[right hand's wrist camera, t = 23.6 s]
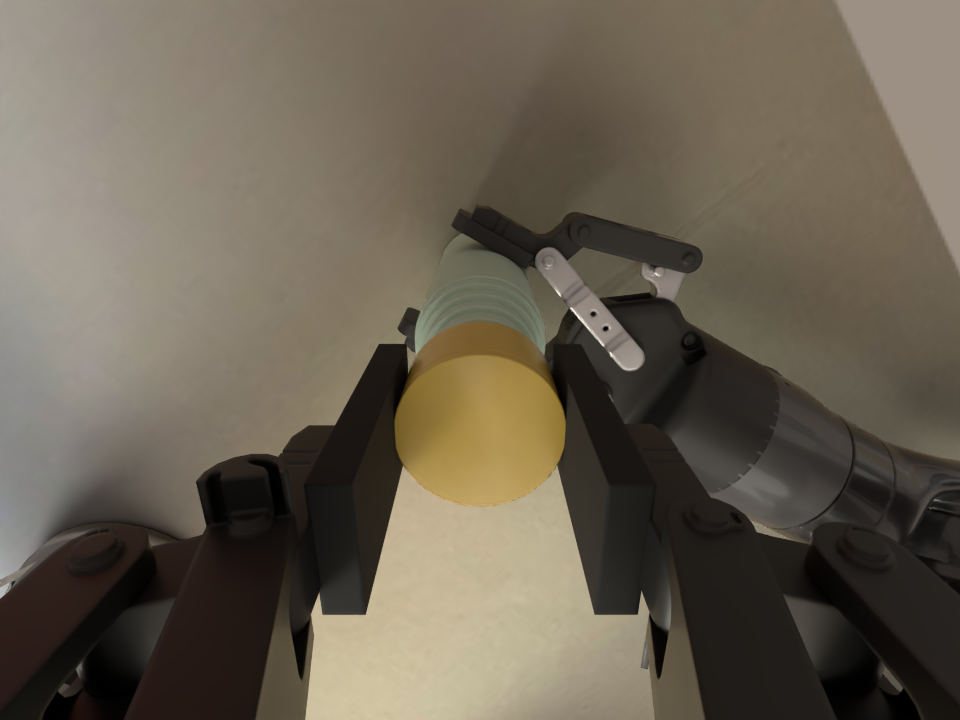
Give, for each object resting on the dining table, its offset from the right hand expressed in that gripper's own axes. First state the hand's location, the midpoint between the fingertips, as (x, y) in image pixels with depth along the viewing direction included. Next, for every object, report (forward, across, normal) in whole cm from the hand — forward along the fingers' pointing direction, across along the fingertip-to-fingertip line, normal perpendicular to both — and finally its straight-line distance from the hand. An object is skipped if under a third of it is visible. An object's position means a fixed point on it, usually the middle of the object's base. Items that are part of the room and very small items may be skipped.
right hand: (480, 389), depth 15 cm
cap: (-2, 0, 0) cm, 2 cm away
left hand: (+10, -2, +1) cm, 11 cm away
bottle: (+17, 0, 0) cm, 17 cm away
